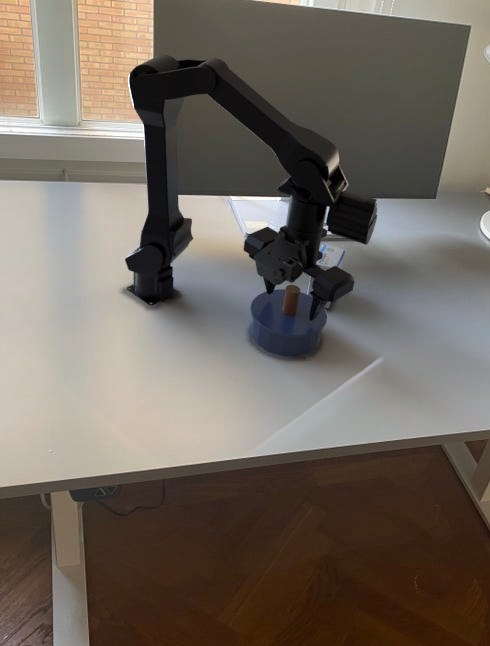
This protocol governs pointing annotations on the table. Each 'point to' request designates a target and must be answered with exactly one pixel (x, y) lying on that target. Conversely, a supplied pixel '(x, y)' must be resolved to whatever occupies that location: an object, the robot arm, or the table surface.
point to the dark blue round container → (284, 342)
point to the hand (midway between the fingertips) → (290, 306)
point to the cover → (287, 313)
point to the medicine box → (328, 263)
